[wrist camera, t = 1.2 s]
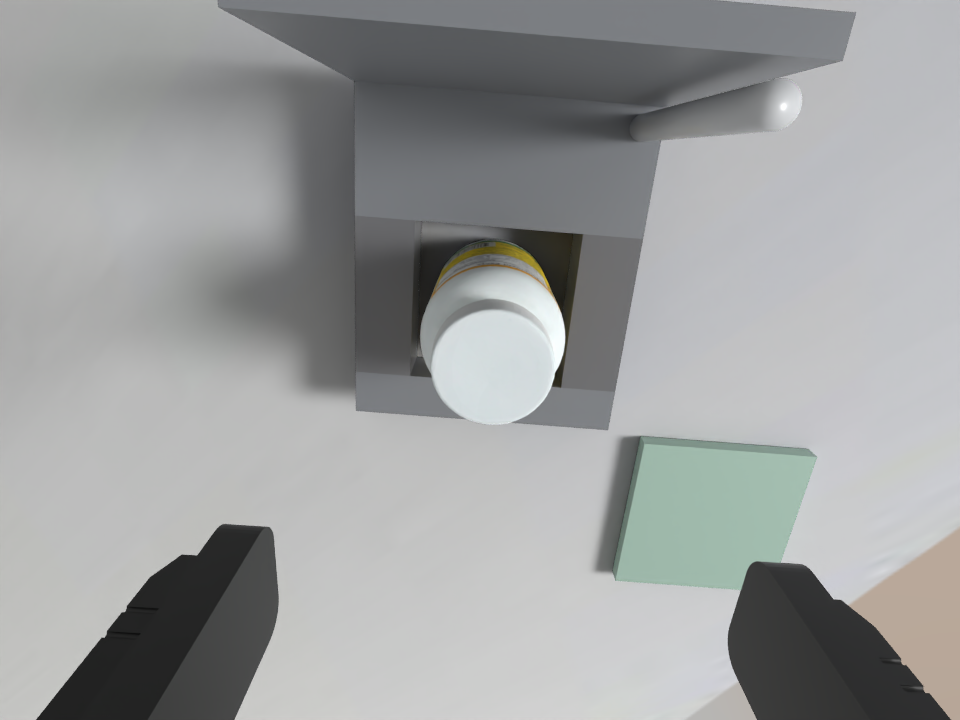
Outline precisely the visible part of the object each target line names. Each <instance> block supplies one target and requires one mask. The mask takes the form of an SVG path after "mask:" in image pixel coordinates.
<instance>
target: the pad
mask: <svg viewBox="0 0 960 720" xmlns="http://www.w3.org/2000/svg"><path fill="white" fill-rule="evenodd" d="M816 459H817V456H816V455H814V454H813V453H812V452H811V451H810V450H809V449H800V448H787V447H774V446H761V445H748V444H735V443H722V442H709V441H696V440H683V439H670V438H657V437H644V436H641V437H640V441H639V446H638V451H637V456H636V461H635V465H634V470H633V475H632V480H631V485H630V489H629V494H628V499H627V504H626V509H625V513H624V518H623V523H622V528H621V532H620V537H619V542H618V547H617V552H616V556H615V561H614V566H613V574H614V577H615V581H627V582H640V583H654V584H667V585H681V586H695V587H708V588H722V589H735V590H741V588H742V585H743V582H744V579H745V576H746V572H747V570H748V568H749V566H750V565H751V564H752V563H753V562H756V561H761V562H776V563H781V560H782V557H783V554H784V551H785V548H786V546H787V543H788V540H789V537H790V534H791V531H792V528H793V525H794V522H795V520H796V517H797V514H798V511H799V508H800V505H801V502H802V499H803V497H804V494H805V491H806V488H807V485H808V482H809V479H810V476H811V473H812V471H813V468H814V465H815V462H816Z"/></svg>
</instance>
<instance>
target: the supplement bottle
mask: <svg viewBox="0 0 960 720" xmlns="http://www.w3.org/2000/svg"><path fill="white" fill-rule="evenodd" d="M420 343H421V350H422V354H423V358H424V360H425V363H426V365H427V367H428V369H429V371H430V373H431V377H432V381H433V385H434V387H435V389H436V392H437V393H438V395H439V397H440V398H441V400H442V401H443V402H444V403H445V404H446V405H447V406H448V407H449V408H450V409H451V410H452V411H453V412H455V413H456V414H458V415H459V416H461V417H463V418H465V419H467V420H470V421H473V422H476V423H480V424H488V425H499V424H507V423H511V422H514V421H517V420H519V419H521V418H523V417H525V416H527V415H529V414H530V413H531V412H533V411H534V410H535V409H536V408H537V407H538V406H539V405H540V404H541V403H542V402H543V401H544V399H545V398H546V396H547V395H548V393H549V391H550V389H551V386H552V383H553V380H554V377H555V372H556V370H557V368H558V366H559V364H560V362H561V359H562V356H563V352H564V346H565V328H564V322H563V318H562V314H561V311H560V309H559V306H558V304H557V302H556V300H555V297H554V295H553V293H552V291H551V288H550V286H549V284H548V281H547V279H546V277H545V275H544V273H543V271H542V269H541V267H540V265H539V264H538V262H537V261H536V259H535V258H534V257H533V256H532V255H531V254H530V253H529V252H528V251H526V250H525V249H523V248H522V247H520V246H518V245H516V244H514V243H511V242H507V241H503V240H494V239H489V240H481V241H477V242H474V243H471V244H469V245H467V246H465V247H463V248H461V249H460V250H459V251H457V252H456V253H455V254H454V255H453V256H452V257H451V258H450V259H449V260H448V261H447V263H446V264H445V265H444V267H443V269H442V270H441V273H440V276H439V278H438V281H437V283H436V286H435V288H434V291H433V293H432V296H431V298H430V301H429V303H428V305H427V307H426V310H425V313H424V316H423V319H422V323H421V331H420Z"/></svg>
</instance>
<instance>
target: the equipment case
mask: <svg viewBox="0 0 960 720" xmlns="http://www.w3.org/2000/svg"><path fill="white" fill-rule="evenodd" d="M218 7H219V8H221V9H223V10H224V11H226V12H228V13H230V14H232V15H234V16H236V17H237V18H239V19H241V20H243V21H245V22H247V23H248V24H250V25H252V26H254V27H256V28H258V29H260V30H261V31H263V32H265V33H267V34H269V35H271V36H272V37H274V38H276V39H278V40H280V41H282V42H284V43H285V44H287V45H289V46H291V47H293V48H295V49H296V50H298V51H300V52H302V53H304V54H306V55H308V56H309V57H311V58H313V59H315V60H317V61H319V62H321V63H322V64H324V65H326V66H328V67H330V68H332V69H333V70H335V71H337V72H339V73H341V74H343V75H345V76H346V77H348V78H350V79H352V80H354V145H355V329H356V411H366V412H379V413H392V414H405V415H418V416H431V417H444V418H457V419H465V418H463V417H461V416H459V415H458V414H456V413H455V412H453V411H452V410H451V409H450V408H449V407H448V406H447V405H446V404H445V403H444V402H443V401H442V400H441V398H440V397H439V395H438V393H437V392H436V389H435V387H434V385H433V381H432V377H431V373H430V371H429V369H428V367H427V365H426V363H425V360H424V358H423V357H417V339H418V313H419V287H420V260H421V234H422V221H428V222H440V223H452V224H465V225H477V226H489V227H502V228H514V229H526V230H538V231H551V232H563V233H573V241H572V248H571V255H570V262H569V270H568V277H567V284H566V292H565V299H564V306H563V313H562V318H563V322H564V328H565V346H564V352H563V356H562V359H561V362H560V364H559V366H558V368H557V370H556V372H555V377H554V380H553V383H552V386H551V389H550V391H549V393H548V395H547V396H546V398H545V399H544V401H543V402H542V403H541V404H540V405H539V406H538V407H537V408H536V409H535V410H534V411H533V412H531V413H530V414H529V415H527V416H525V417H523V418H521V419H519V420H517V421H514V422H511V423H522V424H535V425H548V426H561V427H574V428H587V429H599V430H608V427H609V422H610V416H611V411H612V405H613V400H614V394H615V389H616V383H617V378H618V372H619V367H620V362H621V356H622V351H623V345H624V340H625V334H626V329H627V323H628V318H629V312H630V307H631V302H632V296H633V291H634V285H635V280H636V274H637V269H638V263H639V258H640V252H641V247H642V241H643V236H644V231H645V225H646V220H647V214H648V209H649V203H650V198H651V192H652V187H653V181H654V176H655V171H656V165H657V160H658V154H659V149H660V143H661V140H672V139H684V138H697V137H709V136H722V135H734V134H747V133H759V132H772V131H779V130H782V129H784V128H786V127H787V126H789V125H790V124H791V123H792V122H793V121H794V120H795V119H796V117H797V116H798V114H799V112H800V109H801V106H802V93H801V90H800V88H799V87H798V85H797V84H796V83H795V82H794V81H792V80H790V79H787V78H779V77H783V76H787V75H790V74H794V73H798V72H802V71H806V70H809V69H813V68H817V67H821V66H825V65H828V64H832V63H836V62H840V61H843V58H844V54H845V51H846V47H847V44H848V40H849V36H850V33H851V29H852V26H853V22H854V19H855V15H856V12H845V11H833V10H822V9H810V8H799V7H787V6H776V5H764V4H753V3H741V2H730V1H718V0H218ZM775 78H777V79H775ZM772 79H773V80H772ZM768 80H770V81H768ZM764 81H766V82H764ZM760 82H762V83H760ZM756 83H758V84H756ZM753 84H754V85H753ZM749 85H751V86H749ZM745 86H747V87H745ZM741 87H743V88H741ZM738 88H739V89H738ZM734 89H735V90H734ZM730 90H731V91H730ZM726 91H728V92H726ZM722 92H724V93H722ZM719 93H720V94H719ZM715 94H716V95H715ZM711 95H712V96H711ZM707 96H709V97H707ZM704 97H705V98H704ZM700 98H701V99H700ZM696 99H697V100H696ZM692 100H693V101H692ZM688 101H690V102H688ZM685 102H686V103H685ZM681 103H682V104H681ZM677 104H678V105H677ZM673 105H674V106H673ZM669 106H671V107H669Z"/></svg>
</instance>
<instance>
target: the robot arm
mask: <svg viewBox="0 0 960 720" xmlns="http://www.w3.org/2000/svg"><path fill="white" fill-rule="evenodd" d="M278 602H279V597H278V584H277V572H276V559H275V547H274V536H273V532H272V530H271V528H269V527H261V526H246V525H231V524H223V525H221V526H219V527H218V528H217V529H216V531H215V532H214V533H213V535H212V536H211V537H210V539H209V540H208V542H207V543H206V544H205V546H204V547H203V548H202V550H201V551H200V553H199V554H198V555H197V556H195V555H181V556H179V557H178V558H177V559H175V560H174V561H172V562H171V563H170V564H168V565H167V566H165V567H164V568H163V569H161V570H160V571H158V572H157V573H156V574H154V575H153V576H151V577H150V578H149V579H148V581H147V582H146V583H145V584H144V586H143V587H142V588H141V589H140V591H139V592H138V593H137V594H136V596H135V597H134V598H133V599H132V601H131V602H130V603H129V604H128V606H127V609H126V612H122V613H121V614H120V616H119V617H118V618H117V619H116V621H115V622H114V623H113V624H112V626H111V627H110V628H109V629H108V631H107V635H106V637H105V638H101V639H100V641H99V642H98V643H97V644H96V646H95V647H94V648H93V649H92V651H91V652H90V653H89V654H88V656H87V657H86V658H85V659H84V661H83V662H82V663H81V664H80V666H79V667H78V668H77V669H76V671H75V672H74V673H73V674H72V676H71V677H70V678H69V679H68V681H67V682H66V683H65V684H64V686H63V687H62V688H61V689H60V691H59V692H58V693H57V694H56V696H55V697H54V698H53V699H52V701H51V702H50V703H49V704H48V706H47V707H46V708H45V709H44V711H43V712H42V713H41V714H40V716H39V717H38V718H37V719H36V720H234V719H235V717H236V715H237V713H238V710H239V708H240V706H241V704H242V701H243V699H244V697H245V695H246V693H247V690H248V688H249V686H250V684H251V681H252V679H253V677H254V675H255V672H256V670H257V668H258V666H259V664H260V661H261V659H262V657H263V655H264V652H265V650H266V648H267V646H268V644H269V641H270V639H271V636H272V634H273V630H274V627H275V623H276V618H277V613H278ZM728 650H729V656H730V660H731V664H732V667H733V670H734V672H735V674H736V676H737V679H738V681H739V683H740V685H741V687H742V689H743V691H744V693H745V695H746V697H747V700H748V702H749V704H750V706H751V708H752V710H753V712H754V714H755V716H756V718H757V720H951V719H950V718H949V717H948V716H947V714H946V713H945V712H944V711H943V709H942V708H941V707H940V706H939V705H938V703H937V702H936V701H935V700H934V698H933V697H932V696H931V695H930V694H929V693H925V692H924V690H923V685H922V684H921V683H920V681H919V680H918V679H917V678H916V676H915V675H914V674H913V673H912V672H911V670H910V669H909V668H908V667H907V666H906V665H902V663H901V658H900V657H899V656H898V654H897V653H896V652H895V651H894V650H893V648H892V647H891V646H890V645H889V644H888V642H887V641H886V640H885V639H884V638H883V636H882V635H881V634H880V633H879V631H878V630H877V629H876V628H875V627H874V626H873V625H872V624H871V623H869V622H868V621H867V620H865V619H864V618H863V617H862V616H860V615H859V614H858V613H857V612H855V611H854V610H853V609H851V608H850V607H849V606H848V605H847V604H845V603H844V602H843V601H842V600H834V599H833V598H832V597H831V596H830V594H829V593H828V592H827V590H826V589H825V588H824V587H823V585H822V584H821V583H820V581H819V580H818V579H817V578H816V576H815V575H814V574H813V572H812V571H811V570H810V569H809V568H807V567H806V566H804V565H802V564H791V563H776V562H761V561H756V562H753V563H752V564H751V565H750V566H749V568H748V570H747V572H746V576H745V579H744V582H743V585H742V588H741V592H740V595H739V598H738V601H737V605H736V608H735V611H734V614H733V617H732V621H731V624H730V627H729V632H728Z"/></svg>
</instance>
